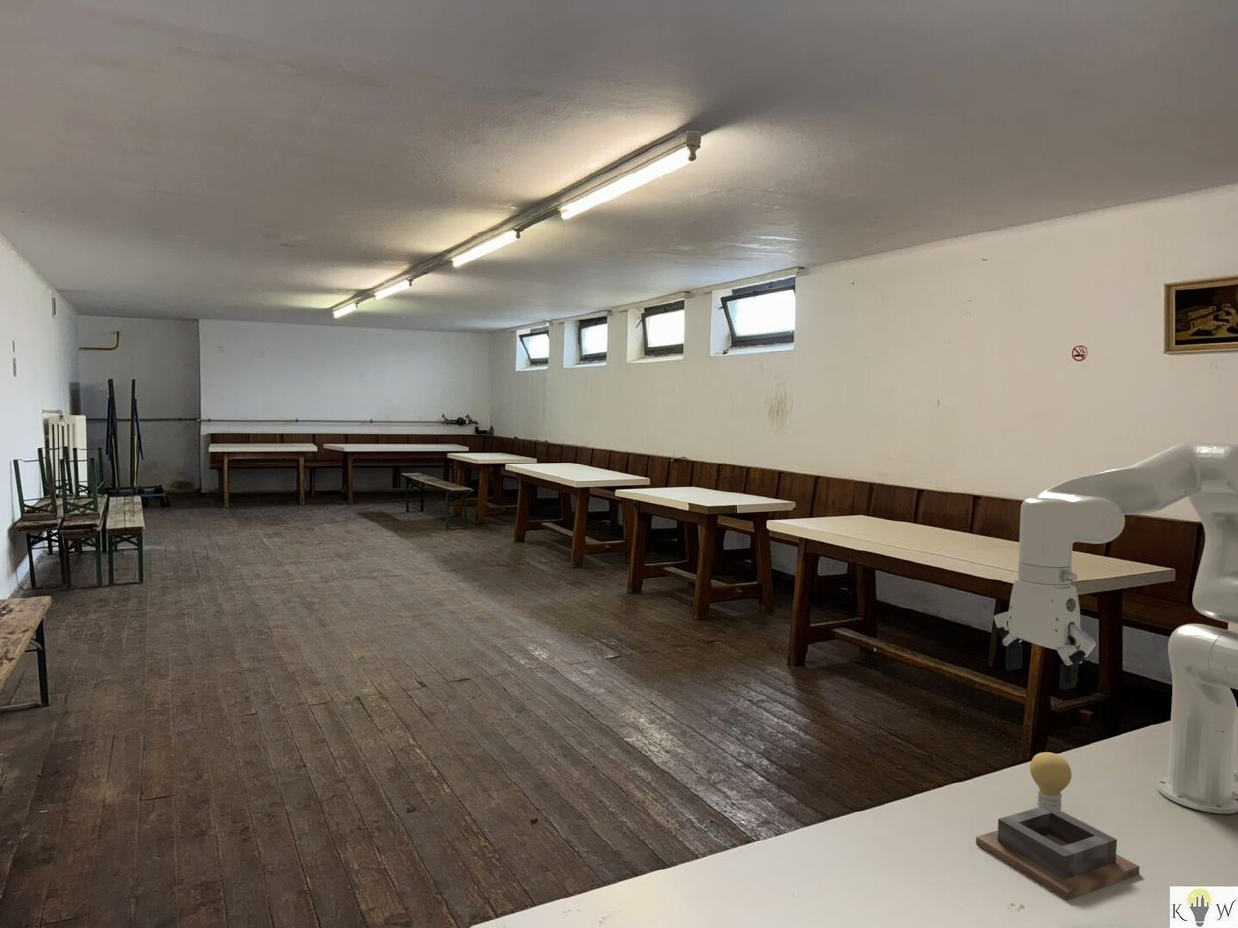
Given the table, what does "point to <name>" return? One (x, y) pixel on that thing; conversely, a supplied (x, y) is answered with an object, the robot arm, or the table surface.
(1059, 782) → the light bulb
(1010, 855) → the lamp socket
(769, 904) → the table surface
